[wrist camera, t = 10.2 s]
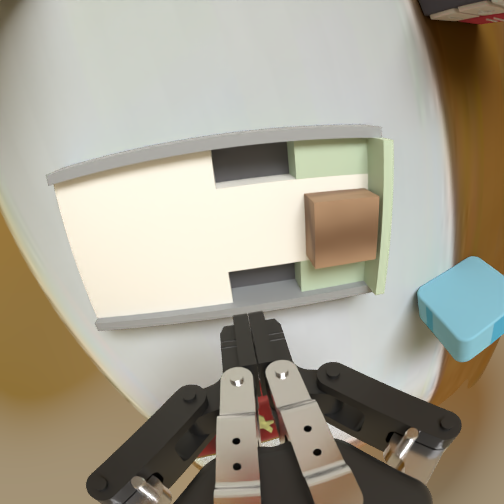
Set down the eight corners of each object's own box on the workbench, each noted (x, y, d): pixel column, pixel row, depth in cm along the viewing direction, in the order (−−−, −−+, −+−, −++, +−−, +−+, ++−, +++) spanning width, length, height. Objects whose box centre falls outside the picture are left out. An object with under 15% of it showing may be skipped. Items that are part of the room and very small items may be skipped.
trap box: (64, 167, 25) (34, 180, 20) (361, 124, 27) (393, 128, 22) (107, 309, 33) (93, 342, 27) (360, 273, 34) (382, 301, 29)
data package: (415, 313, 39) (460, 367, 28) (412, 290, 37) (463, 345, 26) (473, 276, 38) (522, 318, 27) (473, 252, 36) (527, 293, 25)
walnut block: (303, 193, 26) (313, 202, 24) (364, 187, 27) (379, 196, 24) (306, 254, 29) (315, 269, 26) (362, 246, 29) (375, 259, 27)
